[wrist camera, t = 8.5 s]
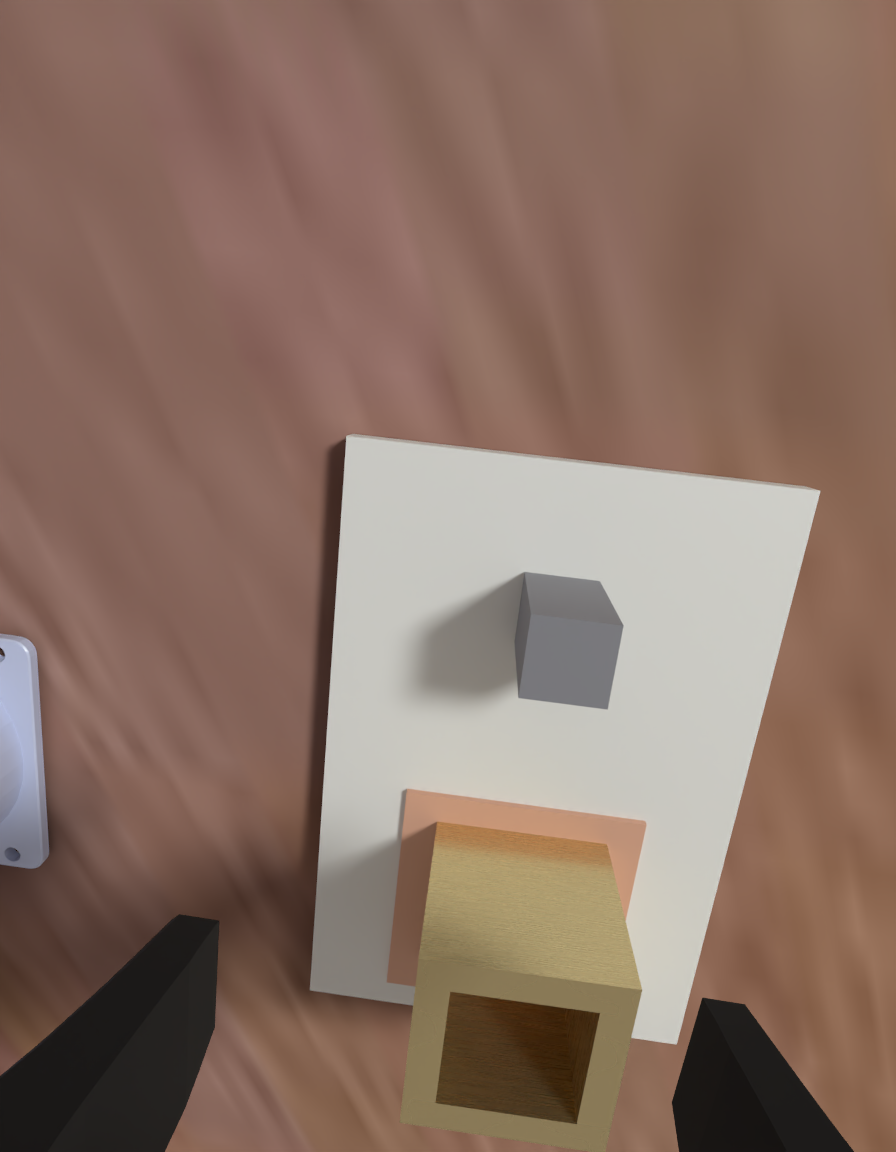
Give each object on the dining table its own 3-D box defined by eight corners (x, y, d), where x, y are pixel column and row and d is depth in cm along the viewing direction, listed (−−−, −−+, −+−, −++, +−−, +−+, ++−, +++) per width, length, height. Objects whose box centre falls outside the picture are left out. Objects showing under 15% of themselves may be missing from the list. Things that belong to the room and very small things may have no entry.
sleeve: (421, 957, 21) (399, 1122, 17) (437, 821, 20) (418, 958, 15) (580, 979, 21) (604, 1153, 16) (606, 844, 20) (642, 990, 15)
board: (315, 970, 23) (276, 1097, 19) (353, 433, 18) (310, 447, 14) (670, 1022, 23) (709, 1163, 19) (806, 486, 18) (900, 516, 14)
